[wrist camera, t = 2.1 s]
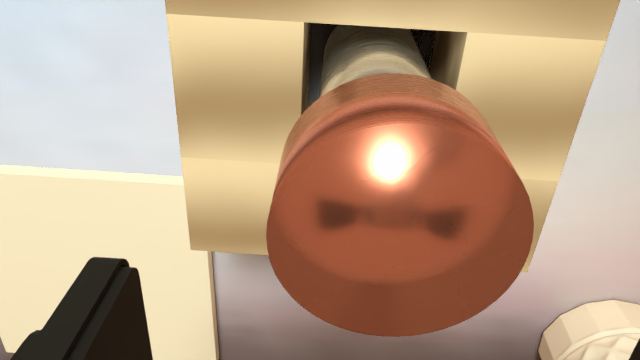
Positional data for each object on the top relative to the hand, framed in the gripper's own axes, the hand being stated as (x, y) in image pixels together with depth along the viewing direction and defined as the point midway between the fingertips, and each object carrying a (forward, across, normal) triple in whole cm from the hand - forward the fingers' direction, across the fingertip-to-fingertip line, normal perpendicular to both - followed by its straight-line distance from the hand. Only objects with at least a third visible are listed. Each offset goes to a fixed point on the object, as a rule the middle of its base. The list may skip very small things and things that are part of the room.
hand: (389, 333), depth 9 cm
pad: (+15, +14, +12) cm, 24 cm away
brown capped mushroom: (+15, 0, -1) cm, 15 cm away
